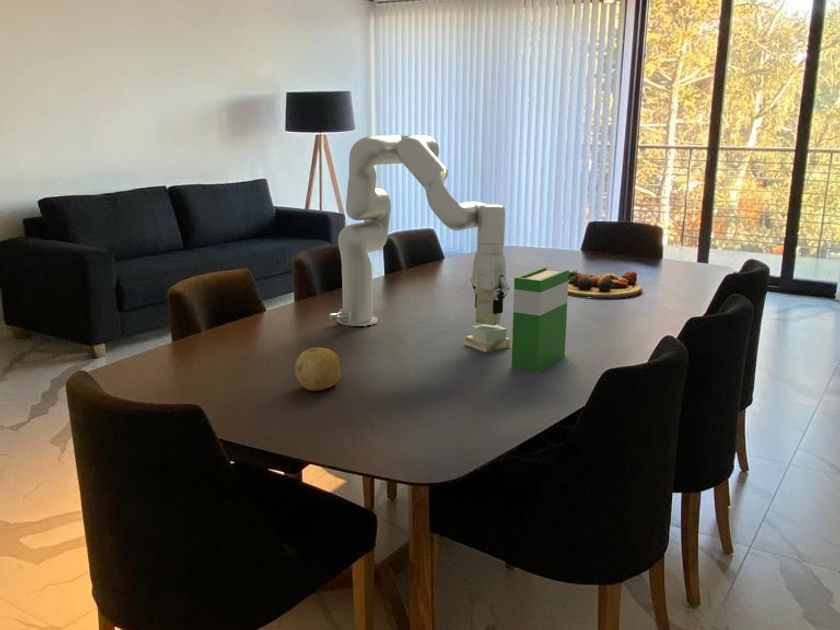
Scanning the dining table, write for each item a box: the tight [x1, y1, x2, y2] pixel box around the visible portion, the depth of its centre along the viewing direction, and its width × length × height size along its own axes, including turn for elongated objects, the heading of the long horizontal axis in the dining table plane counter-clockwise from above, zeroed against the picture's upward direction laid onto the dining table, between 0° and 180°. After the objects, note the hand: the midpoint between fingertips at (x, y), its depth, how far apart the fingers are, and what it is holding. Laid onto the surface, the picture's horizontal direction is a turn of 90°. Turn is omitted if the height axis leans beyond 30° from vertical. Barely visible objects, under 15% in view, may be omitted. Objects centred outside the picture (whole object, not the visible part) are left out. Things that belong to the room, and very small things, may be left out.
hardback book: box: [511, 266, 570, 373], centre depth 207 cm, size 18×7×24 cm, turn 147°
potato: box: [294, 347, 342, 392], centre depth 187 cm, size 10×12×10 cm
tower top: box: [471, 324, 508, 342], centre depth 222 cm, size 7×7×3 cm
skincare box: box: [475, 282, 502, 326], centre depth 221 cm, size 6×4×12 cm
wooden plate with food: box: [568, 269, 643, 299], centre depth 297 cm, size 32×32×8 cm
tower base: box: [465, 334, 511, 353], centre depth 223 cm, size 9×9×3 cm
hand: (488, 309), depth 221 cm, fingers closed on skincare box, 7 cm apart
